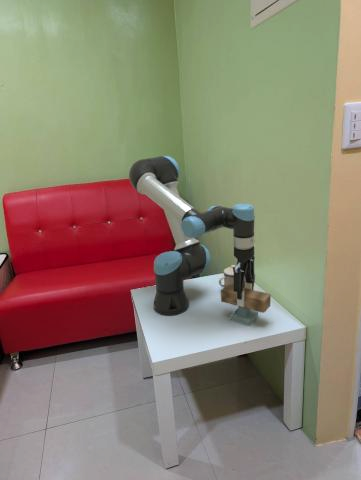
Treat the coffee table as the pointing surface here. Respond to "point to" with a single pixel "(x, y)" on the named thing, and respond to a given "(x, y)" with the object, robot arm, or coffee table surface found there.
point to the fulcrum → (244, 315)
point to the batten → (247, 298)
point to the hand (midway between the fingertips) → (244, 301)
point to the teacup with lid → (228, 276)
